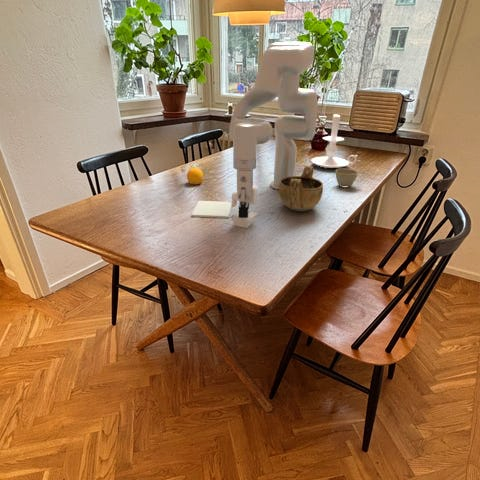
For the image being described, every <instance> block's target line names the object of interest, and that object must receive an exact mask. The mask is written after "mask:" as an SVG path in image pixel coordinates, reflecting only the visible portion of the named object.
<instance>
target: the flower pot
mask: <svg viewBox="0 0 480 480" xmlns="http://www.w3.org/2000/svg"><path fill="white" fill-rule="evenodd" d="M358 174H359V172H358V171H357V170H355V169H351V168H338V169H335V178H336V181H337V185H338V184H339V185H341V186H350V187H351V186H352V185H353V184H354V182H355V181H356V179H357V177H358ZM339 185H338V186H339Z"/></svg>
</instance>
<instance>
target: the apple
mask: <svg viewBox="0 0 480 480" xmlns="http://www.w3.org/2000/svg"><path fill="white" fill-rule="evenodd" d="M204 176H205V175H204V173H203V171H202V169H200V168H198V167H192V168H190V169H189V170H188V171H187V174H186V179H187V182H188V183H189V184H191V185H199V184H201V183H203V181H204V178H205V177H204Z"/></svg>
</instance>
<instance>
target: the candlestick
mask: <svg viewBox="0 0 480 480" xmlns="http://www.w3.org/2000/svg"><path fill="white" fill-rule="evenodd" d="M340 120H341V115H339V114H335V113H334V114H332V122H331V124H332V125H331V133H330V136H324V137H322V139H323V140H325V141H327V142H329V144H328V145H327V147H326V153H327V155H328V156H317V157H313V158H311V160H310V161H311V162H312V164H314V165H316V166H318V167H319V166H320V168H322V167H324V168H323V169H327V168H338V169H343V167H347V168H351V167H353V164H355V163H356V162H357V157H358V155H357V154H355V155H354V154H351V155H348V157H347V160H346V159H344V158H341V157H335V154H336V153H337V152H338V146H337V143H338V142H342V141H345V138H344V137H341V136H338V131H339V127H340V122H341V121H340ZM351 157H353V158H354V161H353V162H352V161H350V158H351Z"/></svg>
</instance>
